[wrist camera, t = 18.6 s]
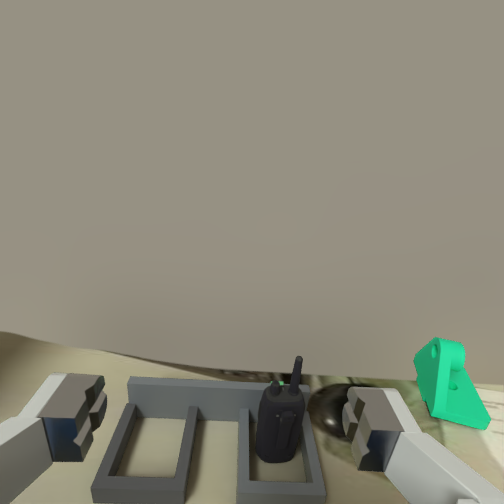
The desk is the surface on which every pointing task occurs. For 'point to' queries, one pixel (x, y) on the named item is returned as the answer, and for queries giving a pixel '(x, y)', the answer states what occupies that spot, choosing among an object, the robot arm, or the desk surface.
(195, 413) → the grey rectangular frame
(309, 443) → the dock
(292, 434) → the two-way radio
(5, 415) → the desk surface
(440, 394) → the camera mount
